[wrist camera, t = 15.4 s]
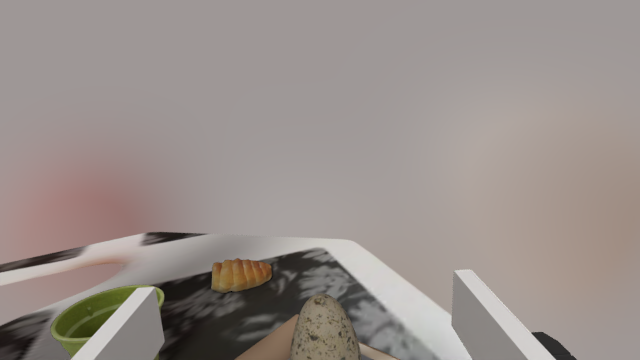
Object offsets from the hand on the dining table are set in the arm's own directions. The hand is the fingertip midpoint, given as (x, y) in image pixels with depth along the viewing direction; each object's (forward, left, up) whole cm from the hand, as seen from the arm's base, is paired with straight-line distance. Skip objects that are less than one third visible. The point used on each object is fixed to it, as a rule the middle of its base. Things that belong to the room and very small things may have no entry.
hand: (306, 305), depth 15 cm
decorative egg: (-7, +9, -16) cm, 20 cm away
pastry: (-34, +20, -18) cm, 43 cm away
